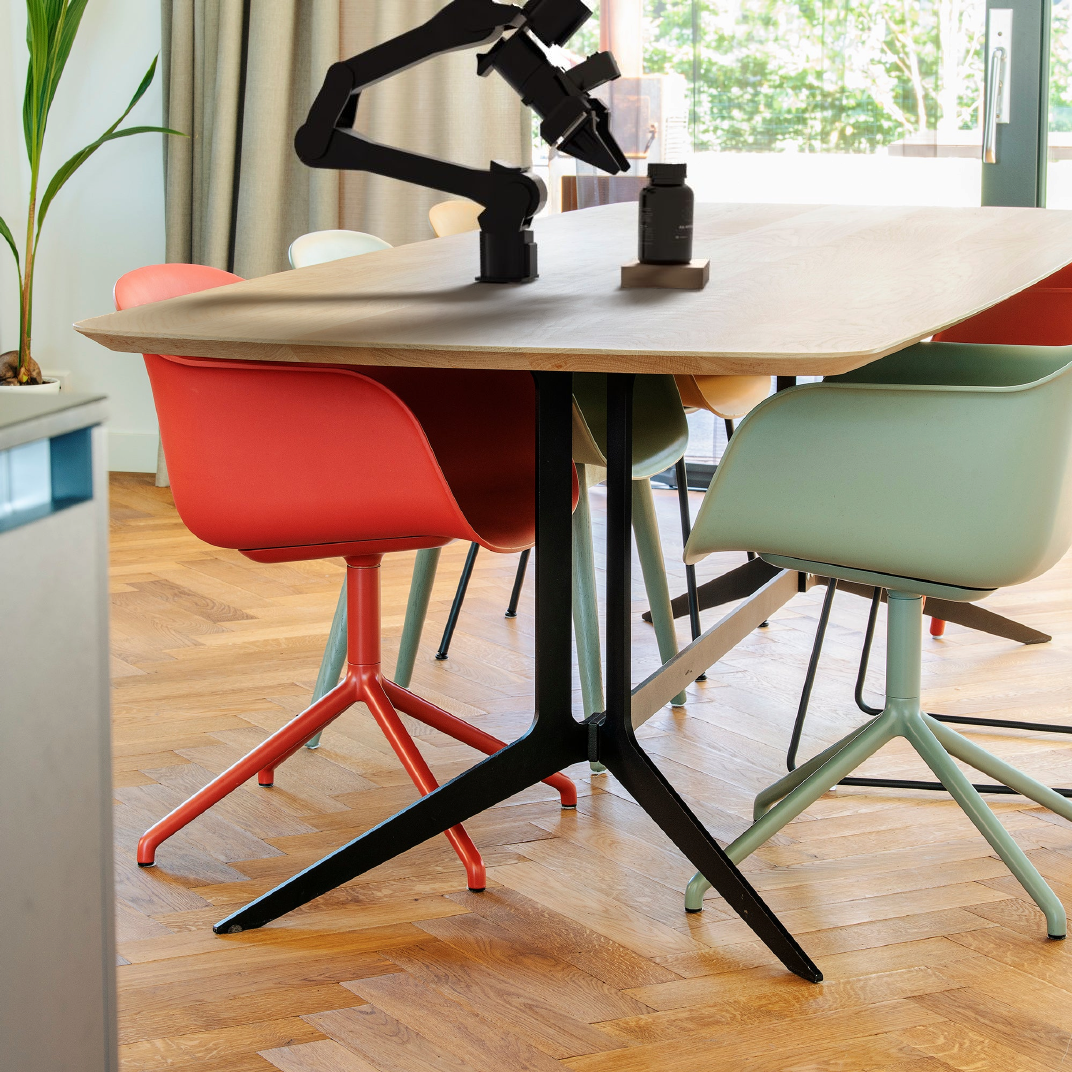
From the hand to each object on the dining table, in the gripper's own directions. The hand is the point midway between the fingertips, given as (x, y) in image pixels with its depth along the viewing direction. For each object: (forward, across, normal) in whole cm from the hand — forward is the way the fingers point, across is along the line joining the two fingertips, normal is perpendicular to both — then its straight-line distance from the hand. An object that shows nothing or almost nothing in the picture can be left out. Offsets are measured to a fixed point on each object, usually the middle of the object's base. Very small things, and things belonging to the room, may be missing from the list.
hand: (623, 171), depth 160 cm
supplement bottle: (+12, 0, +4) cm, 12 cm away
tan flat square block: (+14, 0, +6) cm, 15 cm away
